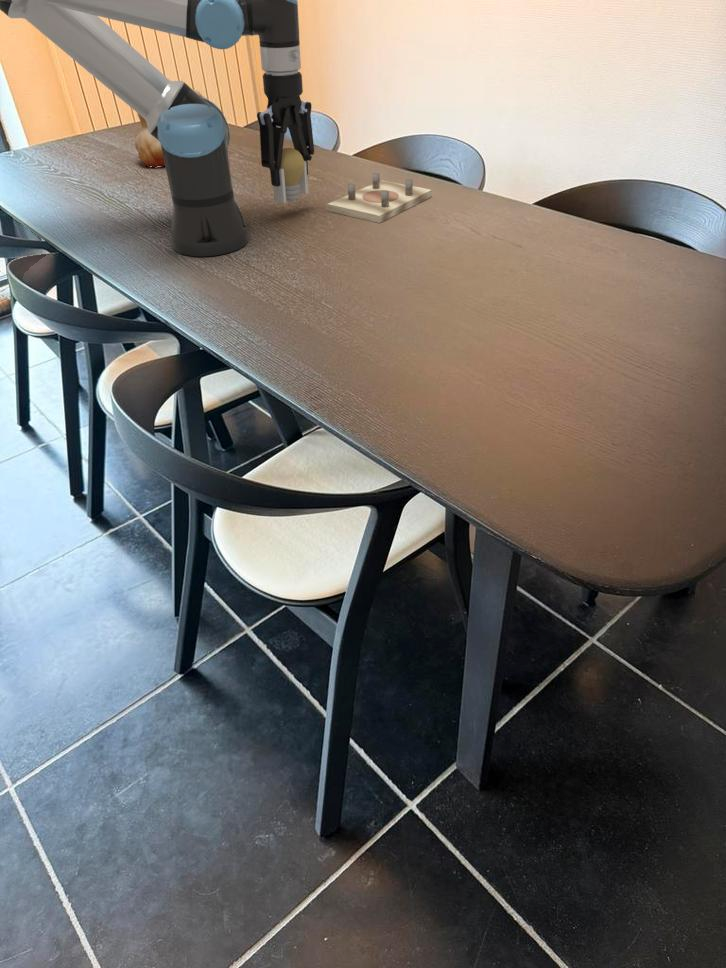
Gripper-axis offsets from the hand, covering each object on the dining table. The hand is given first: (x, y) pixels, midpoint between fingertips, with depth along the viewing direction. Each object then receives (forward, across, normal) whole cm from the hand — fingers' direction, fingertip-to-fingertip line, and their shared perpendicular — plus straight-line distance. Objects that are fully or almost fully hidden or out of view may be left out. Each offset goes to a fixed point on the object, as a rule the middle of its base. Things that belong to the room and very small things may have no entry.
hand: (291, 196), depth 143 cm
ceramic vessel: (+4, +18, +58) cm, 61 cm away
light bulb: (+1, 0, 0) cm, 1 cm away
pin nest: (+3, +15, -12) cm, 20 cm away
